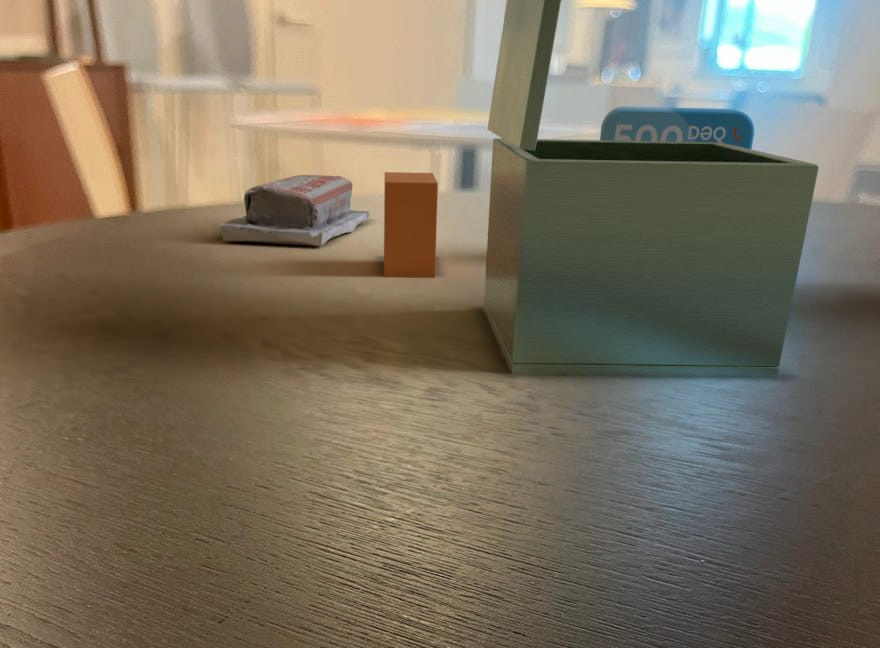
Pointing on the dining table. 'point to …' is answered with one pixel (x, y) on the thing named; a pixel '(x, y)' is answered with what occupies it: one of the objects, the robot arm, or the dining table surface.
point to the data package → (678, 125)
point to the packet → (410, 225)
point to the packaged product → (296, 212)
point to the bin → (643, 256)
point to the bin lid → (523, 70)
